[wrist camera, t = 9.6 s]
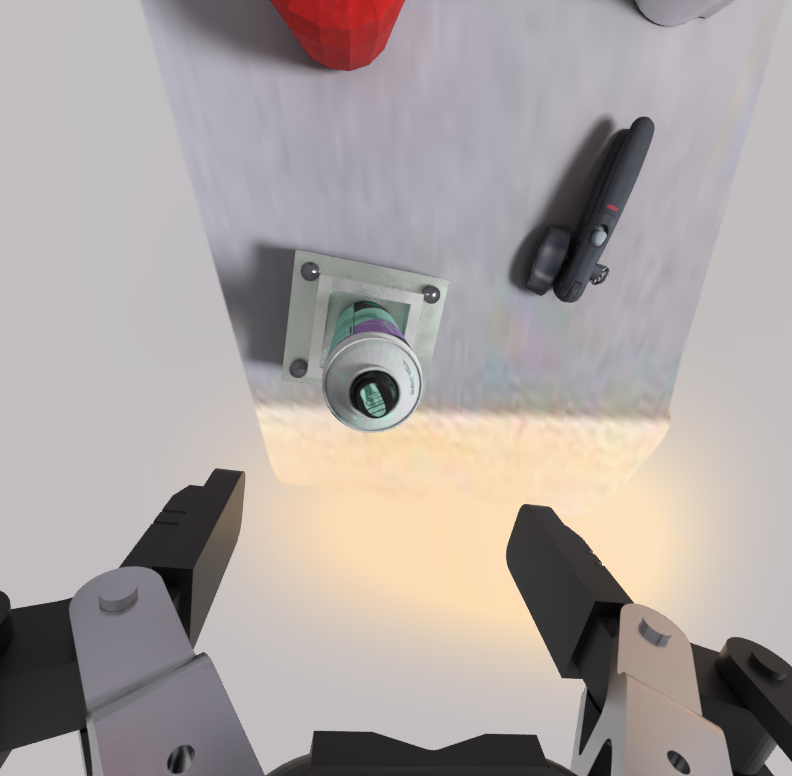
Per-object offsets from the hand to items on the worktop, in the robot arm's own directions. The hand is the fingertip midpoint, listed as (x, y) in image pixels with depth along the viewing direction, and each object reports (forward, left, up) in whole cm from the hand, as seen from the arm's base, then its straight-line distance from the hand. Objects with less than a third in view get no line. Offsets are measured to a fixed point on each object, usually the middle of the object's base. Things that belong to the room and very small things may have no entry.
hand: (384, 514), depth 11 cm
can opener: (-21, -15, -33) cm, 42 cm away
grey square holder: (0, 0, -33) cm, 33 cm away
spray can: (0, 0, -28) cm, 28 cm away
